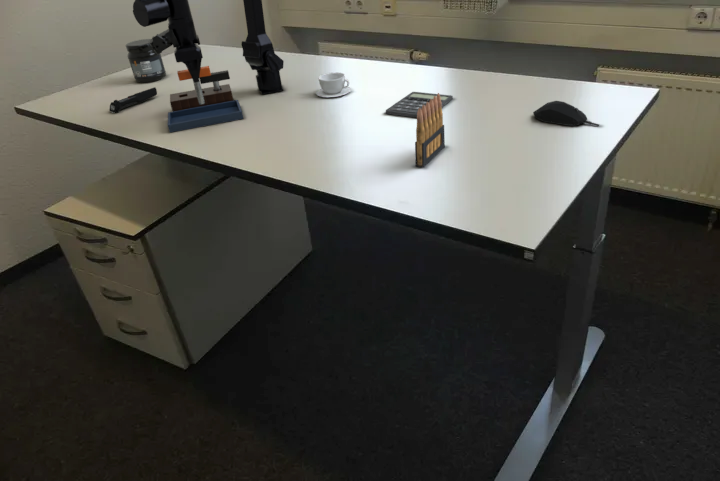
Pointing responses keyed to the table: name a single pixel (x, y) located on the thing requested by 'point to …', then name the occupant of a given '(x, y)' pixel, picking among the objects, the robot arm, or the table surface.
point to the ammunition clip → (429, 132)
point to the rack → (191, 101)
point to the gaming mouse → (561, 114)
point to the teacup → (333, 85)
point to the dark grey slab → (215, 78)
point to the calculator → (415, 103)
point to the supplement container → (145, 61)
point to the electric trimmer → (132, 100)
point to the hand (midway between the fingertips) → (196, 80)
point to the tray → (204, 115)
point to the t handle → (203, 72)
